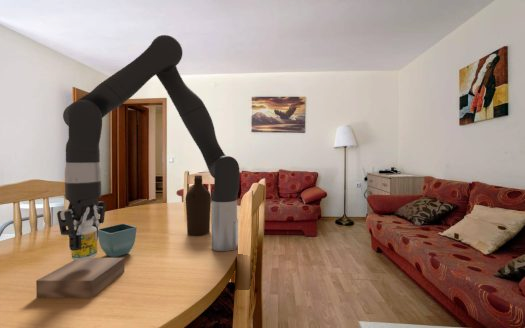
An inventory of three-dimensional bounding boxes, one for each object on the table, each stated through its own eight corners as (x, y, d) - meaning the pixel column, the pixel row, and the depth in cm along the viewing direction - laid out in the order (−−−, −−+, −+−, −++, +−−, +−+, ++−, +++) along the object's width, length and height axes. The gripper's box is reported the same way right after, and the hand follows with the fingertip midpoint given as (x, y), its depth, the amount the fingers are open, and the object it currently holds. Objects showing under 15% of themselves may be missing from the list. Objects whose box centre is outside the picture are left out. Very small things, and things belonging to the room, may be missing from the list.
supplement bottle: (97, 251, 67) (97, 216, 66) (97, 258, 62) (96, 220, 62) (72, 255, 64) (72, 219, 63) (70, 262, 59) (69, 223, 59)
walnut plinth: (124, 271, 69) (124, 257, 69) (92, 297, 56) (92, 280, 56) (79, 271, 69) (78, 257, 69) (36, 297, 56) (36, 280, 56)
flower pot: (110, 262, 76) (110, 233, 76) (96, 256, 81) (96, 229, 80) (137, 252, 83) (137, 226, 83) (123, 247, 88) (123, 223, 88)
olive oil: (213, 234, 103) (213, 175, 102) (187, 238, 99) (186, 176, 98) (208, 228, 113) (208, 174, 112) (184, 230, 108) (184, 175, 108)
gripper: (76, 183, 55) (77, 256, 56) (115, 178, 70) (116, 236, 70) (43, 183, 55) (45, 256, 56) (89, 178, 70) (90, 236, 70)
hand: (84, 245), depth 63 cm, fingers closed on supplement bottle, 5 cm apart
